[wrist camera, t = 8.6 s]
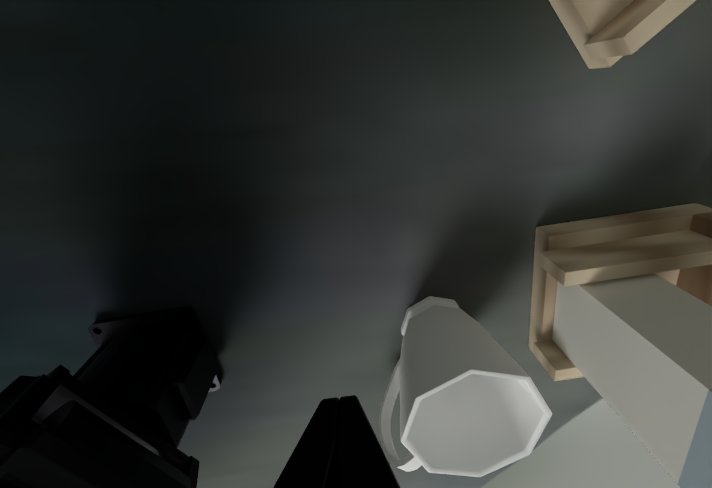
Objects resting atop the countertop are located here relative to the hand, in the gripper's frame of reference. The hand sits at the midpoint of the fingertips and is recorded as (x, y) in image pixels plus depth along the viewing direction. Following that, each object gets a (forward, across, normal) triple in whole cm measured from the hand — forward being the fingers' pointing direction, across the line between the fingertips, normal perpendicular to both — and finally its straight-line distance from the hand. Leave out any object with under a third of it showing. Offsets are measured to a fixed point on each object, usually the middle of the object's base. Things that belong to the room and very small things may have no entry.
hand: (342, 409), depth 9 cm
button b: (+12, -14, +7) cm, 19 cm away
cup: (+13, -4, +9) cm, 17 cm away
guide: (+13, -16, +7) cm, 22 cm away
